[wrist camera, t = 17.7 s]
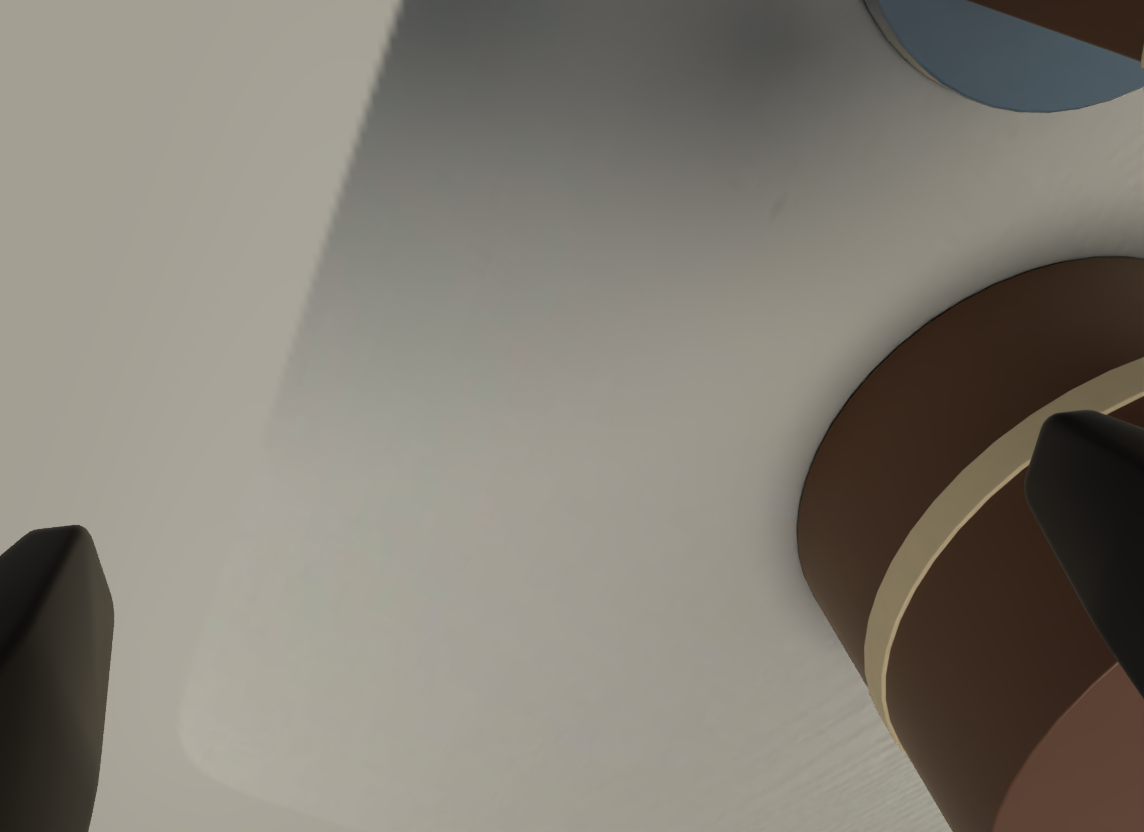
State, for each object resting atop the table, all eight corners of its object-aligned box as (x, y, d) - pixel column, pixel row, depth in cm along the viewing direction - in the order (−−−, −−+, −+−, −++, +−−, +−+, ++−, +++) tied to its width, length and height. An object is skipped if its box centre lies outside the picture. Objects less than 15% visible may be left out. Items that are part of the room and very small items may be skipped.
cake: (766, 681, 32) (920, 1001, 23) (834, 275, 24) (1100, 539, 16) (1154, 619, 34) (1417, 888, 26) (1330, 233, 26) (1785, 442, 18)
